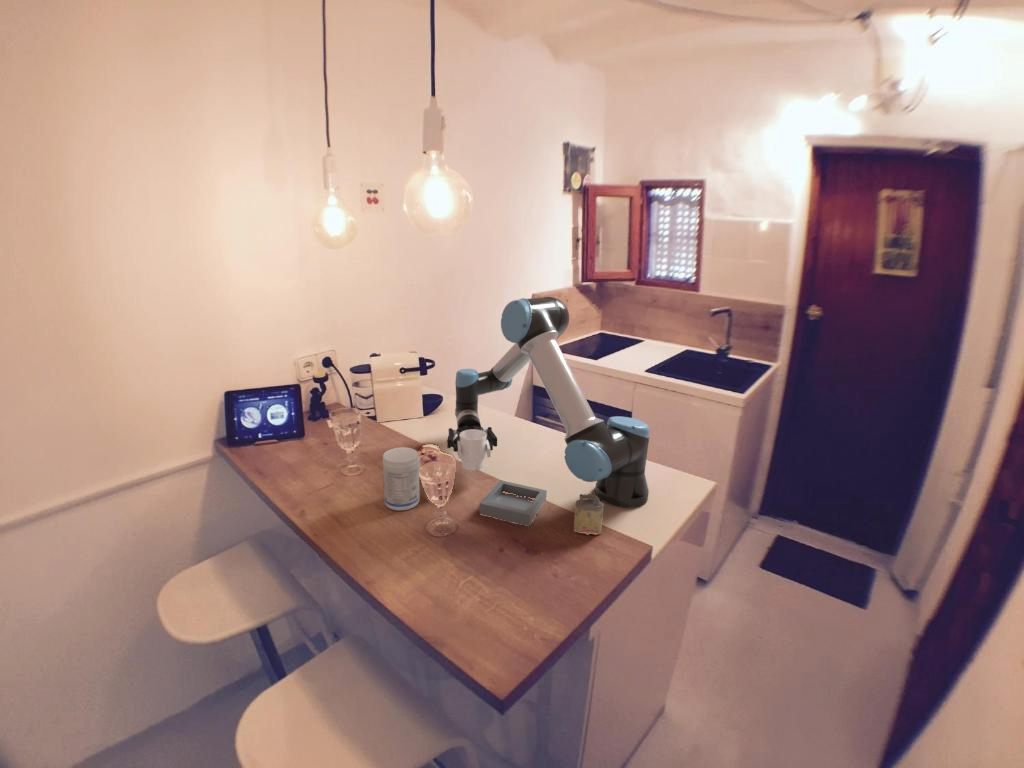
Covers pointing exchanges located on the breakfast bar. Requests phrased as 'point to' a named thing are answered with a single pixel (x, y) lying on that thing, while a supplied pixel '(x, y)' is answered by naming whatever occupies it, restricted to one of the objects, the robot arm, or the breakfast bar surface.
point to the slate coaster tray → (513, 502)
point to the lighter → (588, 514)
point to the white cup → (473, 449)
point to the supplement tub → (401, 478)
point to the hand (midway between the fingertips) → (474, 453)
